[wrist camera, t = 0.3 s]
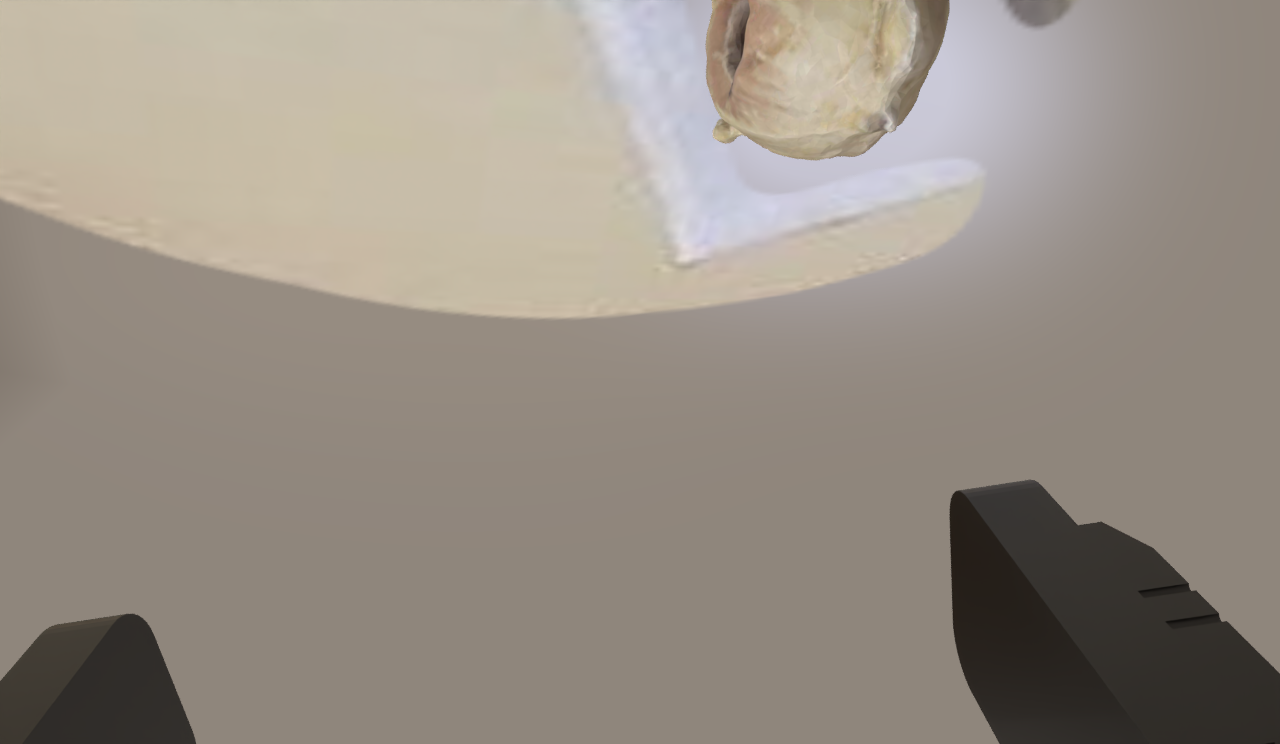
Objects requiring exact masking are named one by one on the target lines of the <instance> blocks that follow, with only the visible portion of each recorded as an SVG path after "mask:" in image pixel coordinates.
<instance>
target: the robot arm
mask: <svg viewBox="0 0 1280 744" xmlns="http://www.w3.org/2000/svg"><path fill="white" fill-rule="evenodd" d="M950 544H951V577H952V609H953V629H954V637H955V642H956V647H957V652H958V656H959V660H960V663H961V667H962V670H963V673H964V676H965V678H966V681H967V683H968V686H969V688H970V690H971V692H972V694H973V696H974V697H975V699H976V701H977V703H978V705H979V707H980V708H981V710H982V712H983V714H984V716H985V718H986V720H987V721H988V723H989V725H990V727H991V729H992V731H993V732H994V734H995V736H996V738H997V740H998V742H999V743H1000V744H1280V674H1279V673H1278V672H1277V671H1276V670H1275V668H1274V667H1272V666H1271V665H1270V664H1269V662H1268V661H1266V660H1265V659H1264V658H1263V657H1262V656H1261V655H1260V654H1259V653H1258V652H1257V651H1256V650H1255V649H1254V648H1253V647H1252V646H1251V645H1250V644H1249V643H1248V642H1247V641H1246V640H1245V639H1244V638H1243V637H1242V636H1241V635H1240V634H1239V633H1238V632H1237V631H1236V630H1235V629H1234V628H1233V627H1232V626H1231V625H1230V624H1229V623H1228V622H1227V621H1225V622H1221V620H1220V618H1219V613H1218V612H1217V611H1216V610H1215V609H1214V608H1213V607H1212V606H1211V605H1210V604H1209V603H1208V602H1207V601H1206V600H1205V599H1204V598H1203V597H1202V596H1201V595H1200V594H1199V593H1198V592H1197V591H1191V590H1190V588H1189V583H1188V582H1187V581H1186V580H1185V579H1184V578H1183V577H1182V576H1181V575H1180V574H1179V573H1178V572H1177V571H1176V570H1175V569H1174V568H1173V567H1172V566H1171V565H1170V564H1169V563H1168V562H1167V561H1166V560H1164V559H1163V557H1162V556H1161V555H1160V554H1158V552H1156V550H1155V549H1154V548H1152V547H1150V546H1148V545H1146V544H1144V543H1142V542H1140V541H1138V540H1136V539H1134V538H1132V537H1130V536H1128V535H1126V534H1124V533H1122V532H1120V531H1118V530H1116V529H1114V528H1113V527H1110V526H1109V525H1107V524H1104V523H1103V522H1097V523H1090V524H1084V525H1077V524H1076V523H1075V522H1074V521H1073V520H1072V519H1071V517H1070V516H1069V515H1068V514H1067V513H1066V512H1065V511H1064V510H1063V509H1062V507H1061V506H1060V505H1059V504H1058V503H1057V502H1056V501H1055V500H1054V499H1053V498H1052V497H1051V496H1050V494H1049V493H1048V492H1047V491H1046V490H1045V489H1044V488H1043V487H1042V486H1041V485H1040V484H1039V483H1038V482H1036V481H1035V480H1025V481H1019V482H1012V483H1006V484H999V485H992V486H986V487H979V488H972V489H966V490H959V491H956V492H955V493H954V494H953V495H952V498H951V503H950ZM0 744H196V742H195V737H194V734H193V731H192V729H191V726H190V724H189V721H188V719H187V717H186V714H185V711H184V709H183V706H182V704H181V701H180V699H179V696H178V694H177V692H176V689H175V686H174V684H173V681H172V679H171V676H170V674H169V672H168V669H167V667H166V664H165V662H164V659H163V656H162V654H161V651H160V649H159V646H158V644H157V641H156V639H155V636H154V634H153V632H152V630H151V628H150V627H149V625H148V624H147V622H146V621H145V620H144V619H143V618H141V617H140V616H138V615H135V614H124V615H117V616H111V617H104V618H98V619H91V620H84V621H77V622H71V623H64V624H57V625H54V626H51V627H49V628H48V629H46V630H45V631H44V632H43V633H42V634H41V635H40V636H39V637H38V638H37V639H36V640H35V641H34V643H33V644H32V645H31V646H30V647H29V648H28V650H27V651H26V652H25V653H24V654H23V655H22V657H21V658H20V659H19V660H18V661H17V662H16V664H15V665H14V666H13V667H12V668H11V670H9V672H8V673H7V674H6V675H5V677H3V679H2V680H1V681H0Z"/></svg>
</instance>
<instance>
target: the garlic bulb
mask: <svg viewBox="0 0 1280 744" xmlns="http://www.w3.org/2000/svg"><path fill="white" fill-rule="evenodd" d="M712 9H713V11H712V15H711V19H710V23H709V27H708V31H707V37H706V53H707V68H706V79H707V85H708V88H709V91H710V94H711V97H712V99H713V102H714V105H715V108H716V109H717V111H718V113H719V115H720V117H721V118H722V119H720V120H718V122H717V124H716V126H715V128H714V130H713V138H714V139H716V140H718V141H720V142H722V143H731V142H733V141H734V140H735V139H736V138H737V137H738V136H740V135H744V136H747V137H748V138H749V139H751V140H752V141H754V142H755V143H757V144H759V145H760V146H762V147H763V148H766V149H768V150H769V151H771V152H773V153H776V154H779V155H782V156H787V157H791V158H796V159H806V160H820V159H825V158H833V157H836V156H848V157H855V156H858V155H861V154H863V153H865V152H866V151H867V150H869V149H870V148H871V147H872V146H873V145H874V144H875V143H877V141H879V139H880V138H881V137H882V136H883V135H884V134H885V133H887V132H893V131H895V130H896V127H897V126H899V125H900V124H901V123H902V122H903V121H904V119H905V117H906V116H907V115H908V114H909V112H910V111H911V109H912V108H913V106H914V104H915V102H916V100H917V97H918V95H919V91H920V88H921V87H922V85H923V83H924V81H925V79H926V77H927V75H928V71H929V69H930V68H931V66H932V64H933V63H934V61H935V59H936V57H937V55H938V52H939V50H940V47H941V45H942V42H943V38H944V34H945V30H946V25H947V20H948V16H949V0H712Z"/></svg>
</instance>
